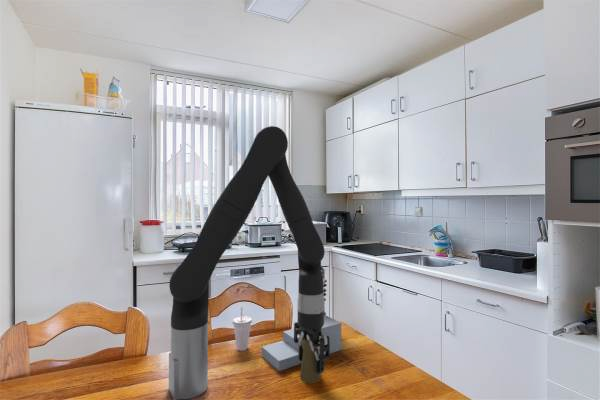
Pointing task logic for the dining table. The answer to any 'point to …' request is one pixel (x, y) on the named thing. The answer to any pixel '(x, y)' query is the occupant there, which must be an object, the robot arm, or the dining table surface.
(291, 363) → the step stand
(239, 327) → the smoothie
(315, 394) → the dining table surface
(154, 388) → the dining table surface
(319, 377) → the olive green pepper mill
